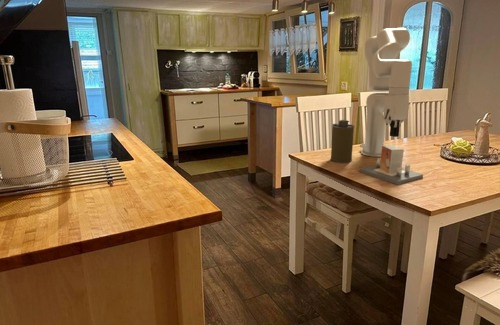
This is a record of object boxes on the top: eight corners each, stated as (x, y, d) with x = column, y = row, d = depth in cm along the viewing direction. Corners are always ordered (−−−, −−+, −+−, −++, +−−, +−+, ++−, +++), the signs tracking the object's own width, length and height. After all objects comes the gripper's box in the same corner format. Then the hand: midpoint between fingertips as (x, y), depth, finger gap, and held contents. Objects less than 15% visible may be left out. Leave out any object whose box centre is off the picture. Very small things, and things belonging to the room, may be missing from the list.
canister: (356, 160, 168) (359, 120, 162) (343, 164, 162) (346, 123, 156) (338, 155, 176) (340, 117, 171) (325, 159, 170) (327, 120, 164)
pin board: (359, 171, 151) (359, 167, 151) (383, 165, 159) (384, 162, 158) (396, 184, 135) (397, 180, 134) (422, 177, 142) (423, 173, 141)
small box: (379, 168, 150) (381, 145, 147) (391, 167, 150) (393, 144, 147) (388, 173, 142) (391, 149, 139) (401, 173, 143) (404, 149, 140)
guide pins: (371, 168, 151) (372, 159, 149) (382, 165, 154) (383, 157, 153) (399, 177, 139) (400, 168, 137) (410, 174, 142) (411, 165, 140)
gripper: (403, 90, 143) (398, 132, 148) (378, 92, 136) (374, 136, 141) (419, 91, 137) (413, 135, 142) (393, 93, 130) (389, 140, 135)
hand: (394, 136), depth 142 cm, fingers closed
